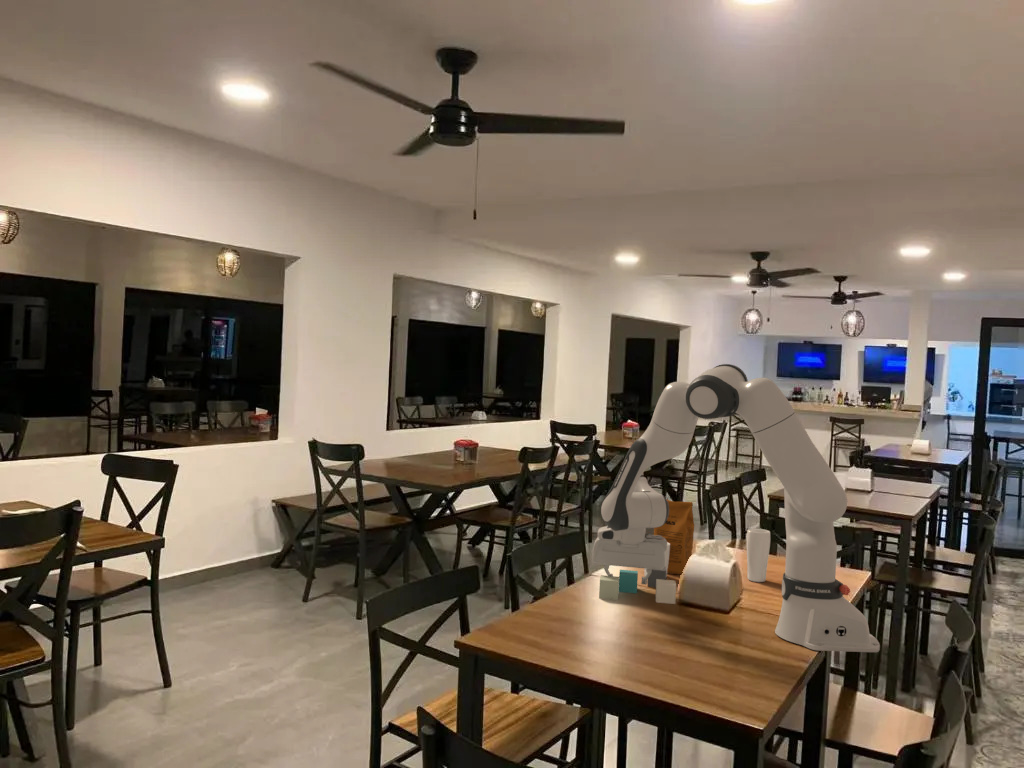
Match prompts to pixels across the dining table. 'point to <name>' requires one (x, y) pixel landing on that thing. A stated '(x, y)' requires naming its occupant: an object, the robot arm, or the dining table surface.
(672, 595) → the cream cube
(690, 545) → the coffee package
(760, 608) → the dining table surface
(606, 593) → the sage cube
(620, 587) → the teal cube
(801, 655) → the dining table surface
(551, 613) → the dining table surface
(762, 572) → the drinking glass
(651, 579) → the charcoal cube
